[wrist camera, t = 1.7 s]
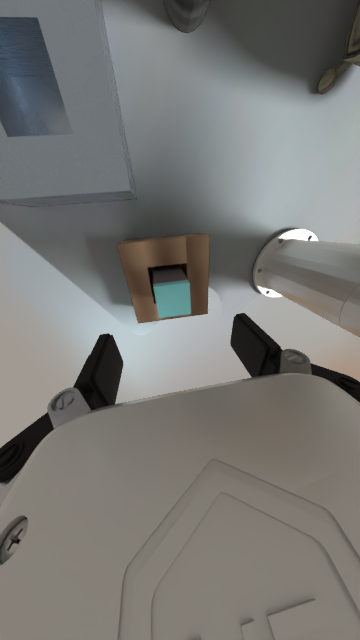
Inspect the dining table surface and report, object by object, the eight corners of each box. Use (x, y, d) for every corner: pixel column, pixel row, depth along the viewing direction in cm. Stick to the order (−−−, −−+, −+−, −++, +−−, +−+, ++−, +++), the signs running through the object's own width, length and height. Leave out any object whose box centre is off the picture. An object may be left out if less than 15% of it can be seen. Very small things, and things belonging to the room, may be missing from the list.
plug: (177, 262, 26) (189, 282, 17) (179, 284, 28) (191, 313, 19) (154, 265, 25) (153, 286, 16) (157, 287, 28) (158, 318, 18)
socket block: (101, 6, 14) (70, -119, 9) (136, 199, 21) (130, 190, 16) (-67, 3, 13) (-209, -141, 8) (32, 206, 20) (-8, 200, 15)
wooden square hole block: (198, 233, 25) (209, 234, 20) (199, 299, 31) (207, 313, 26) (124, 240, 24) (116, 244, 19) (141, 307, 30) (138, 323, 25)
